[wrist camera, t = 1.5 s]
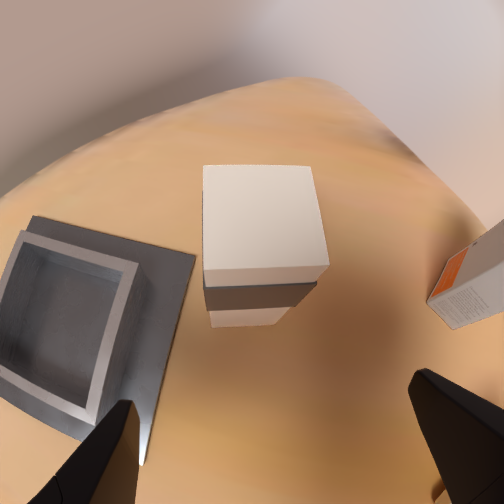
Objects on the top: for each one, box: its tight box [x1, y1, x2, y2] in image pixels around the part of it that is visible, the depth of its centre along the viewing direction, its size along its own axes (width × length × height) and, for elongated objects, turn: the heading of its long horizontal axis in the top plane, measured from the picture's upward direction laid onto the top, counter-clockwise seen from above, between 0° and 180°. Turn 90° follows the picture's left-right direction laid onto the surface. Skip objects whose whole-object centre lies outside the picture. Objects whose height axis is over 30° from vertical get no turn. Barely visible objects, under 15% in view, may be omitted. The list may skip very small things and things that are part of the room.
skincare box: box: [427, 219, 504, 330], centre depth 19 cm, size 6×4×12 cm
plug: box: [202, 165, 330, 328], centre depth 17 cm, size 5×5×12 cm
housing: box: [0, 216, 195, 466], centre depth 18 cm, size 16×16×4 cm
